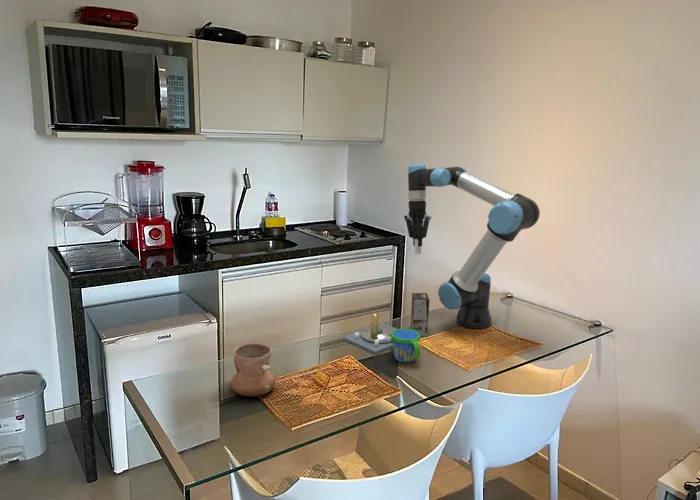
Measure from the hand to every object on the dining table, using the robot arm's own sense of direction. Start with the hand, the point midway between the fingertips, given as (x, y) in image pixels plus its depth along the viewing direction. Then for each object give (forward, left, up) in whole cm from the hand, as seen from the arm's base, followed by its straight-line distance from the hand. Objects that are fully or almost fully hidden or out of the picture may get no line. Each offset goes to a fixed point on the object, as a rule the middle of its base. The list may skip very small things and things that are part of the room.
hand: (417, 253), depth 235 cm
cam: (-7, +31, -28) cm, 43 cm away
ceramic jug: (-8, +92, -30) cm, 97 cm away
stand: (-7, +31, -29) cm, 44 cm away
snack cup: (-26, +37, -30) cm, 55 cm away
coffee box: (-13, +13, -30) cm, 35 cm away
